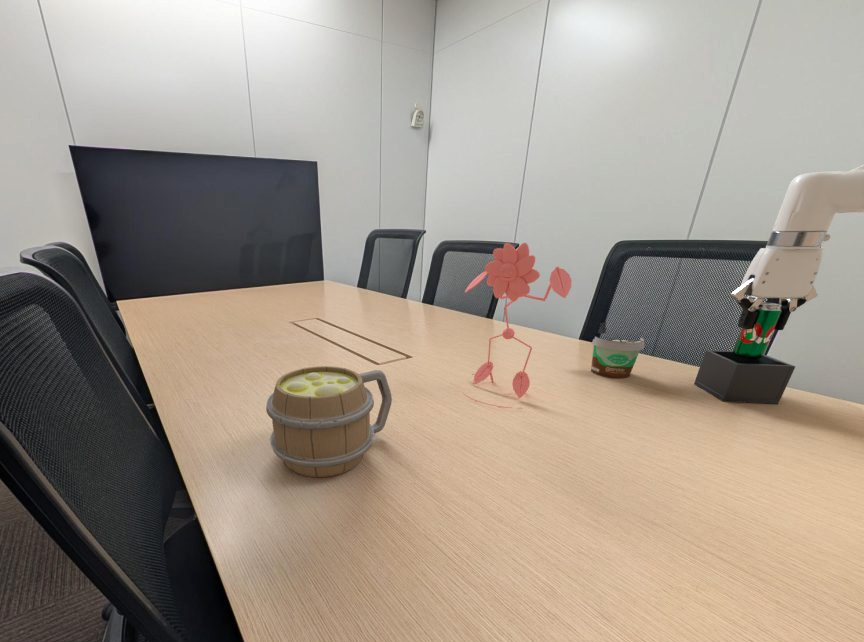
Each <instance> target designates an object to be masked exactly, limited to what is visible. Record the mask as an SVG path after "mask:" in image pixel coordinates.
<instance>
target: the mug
mask: <svg viewBox="0 0 864 642" xmlns="http://www.w3.org/2000/svg"><path fill="white" fill-rule="evenodd" d="M374 381H376V383H377V386H378V389H379V392H380V395H381V403H380V406H379V410H378V414H377V417H376V421H375V422H374V423H373V424H371V416H370V415H371V414H370V413H371V411H372V410H373V408H374V405H375V401H374V396H373V393H372V392H371V390H370V389H368V388H367V387H366V385H365V383H366V384H367V383H370V382H374ZM392 397H393V396H392V393H391V389H390V385H389V382H388V380H387V377H386V373H385V372H383V371H382V370H380V369H374V370H371V371H366V372H362V373H358V372H356V371H354V370H352V369H350V368H346V367H339V366H331V365H330V366H329V365H326V366H325V365H324V366H323V365H320V366H318V365H317V366H310V367H309V366H308V367H304V368H299V369H295V370H292V371H289V372H287V373H284V374H283V375H281V376H280V377H278V379H277V380H276V383H275V386H274V388H273V393H272V394H271V395H269V396H268V398H267V401H266V408H265V410H266V414H267V415H268V417H269V418H270V419H271V420H272V421H271V423H272V430H273V431H272V432H271V435H270V438H269V440H270V441H269V442H270V446H271V448H272V451H273V453H274V454H275V455H276V456H277V457H278V458H279V459H281V460H282V461H283V463H284V464H285V465H286V467H287V468H288V469H289V470H291V471H292V472H294V473H296V474H298V475H301V476H305V477H309V478H310V477H311V478H329V477H334V476H335V477H336V476H338V475H343V474H344V473H346V472H349V471H350V470H352V469H354V468H355V467H357V465H359V463H360V462H361V461H362V460H363V457H364V454H365V453H367V452H368V450H369V449H370V448H371V447H372V445H373V442H374V439H375V434H377V433H380V432H381V431H382V430H383V429H384V428H385V426H386V423H387V420H388V416H389V414H390V409H391V406H392V403H393V398H392Z"/></svg>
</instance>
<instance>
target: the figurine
mask: <svg viewBox="0 0 864 642" xmlns="http://www.w3.org/2000/svg"><path fill="white" fill-rule="evenodd" d="M492 255H493V256H492V257H493V259H494V260H492V261H490V262H488V263H487V264H486V265H485V266H484V271H483V272H481V273H479V275H476V277H475V278H474V279H473V280H472V281H471V282H470V283H469V284H468V285H467V287H466V289H465V290H464V294H466V293H468V292H469V291H471V290H472V289H474V288H475V287H476V286H478V285H479V284H481V282H482V281H484V279H485V278H486V277H487V279H486V284H487V286H488V287H493V290H492V291H493V296H494V297H495V299H500V300H504V299H509V300H510V301H509V302H508V303H506V304H505V305H504V307H503V310H504V311H503V312H504V316H505V317H504V318H505V324H506V328H505V329H503V330H502V332H501V334H499V335H495V336H492V337H490V338H489V340H488V354H487V358H488V359H487V361H486V362H485V363H482V364H481V365H480V367H478V368H477V370H476V372H475V373H473V374H471V376H473V375H474V377H473V382H472V384H473V385H476V384H478V383H480V382H484V381H485V380H486V379H487V378H488V377H490V381H491V383H494V377H493V370H494V363H493V362H492V361H490V358H491V346H492V345H491V343H492V340H493V339H496V338H499V337H502V338H503V339H505V340H511V339H514V340H516V341H518V342H519V343H521V344H522V345H525V346H526V347H528V348H529V352H528V354H527V357H526V359H525V363H524V366H523V369H522V371H521V370H520V371H518V372H516V373H515V375H514V377H513V379H512V383H511V385H512V389H513V391H514V393H515V395H516V396H517V397H518V399H521V398H523V396H524V395H525V394H526V393H527V392H528V390H529V387H530V385H531V380H530V378H529V375H528V373H527V372H525V371H526V367H527V364H528V362H529V359H530V356H531V353H532V350H533V347H532V346H531V345H530V344H528V343H526V342H525V341H523V340H520V339H519V338H517V337H516V336H515V333H516V332H515V329H513V328H511V327H510V326H509V325H510V324H509V316H508V310H507V308H508V307H509V306H510V305H512V303H514V302H517V300H518V299H520V298H522V297H523V298H529V299H533V300H538V301H542V302H546V300H547V299H548V296H549V293H550V291H551V289H552V290H553V292H554V293H556V294H557V295H559V296H560V297H561V298H564V299H566V297H567V296H568V295H569V292H570V290H571V288H572V278H571V275H570V274H569V273H568V272H567V271H566V270H565V269H564V268H561V267H560V266H555V267H554V269H553V270H552V271H551V273H550V277H549V285H548V287H547V289H546V291H545V294H544V296H543V297H539V296H535V295H530V294H529V293H530V291H531V289H530V287H531V286H530V285H529V284H532V283H535V282H536V281H537V280H538V279H539V278H540V277H541V275H540V274H541V273H540V271H538V270H537V269H534V266H535V263H536V256H535V255H534V254H532V255H530V247H529V245H528V243H527V242H522V243H521V244H520V245H519V246H518V247H517V248H515V246H514V245H513V244H511V243H509V242H505V243H504V244H503V248H502V247H500V248H499V247H497V248H494V250H493V251H492ZM487 275H488V276H487ZM504 294H505V295H504ZM463 395H464V396H465V397H466V398H469V399H471V400H473V401H474V402H475V403H479V404H484V405H488V406H493V407H497V408H499V409H511V406H510V407H509V406H500V405H495V404H490V403H486V402H482V401H480V400H477V399H474V398H471V397H470V396H468V395H466V394H465V393H463ZM520 409H524V408H523V407H519V410H520Z"/></svg>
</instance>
